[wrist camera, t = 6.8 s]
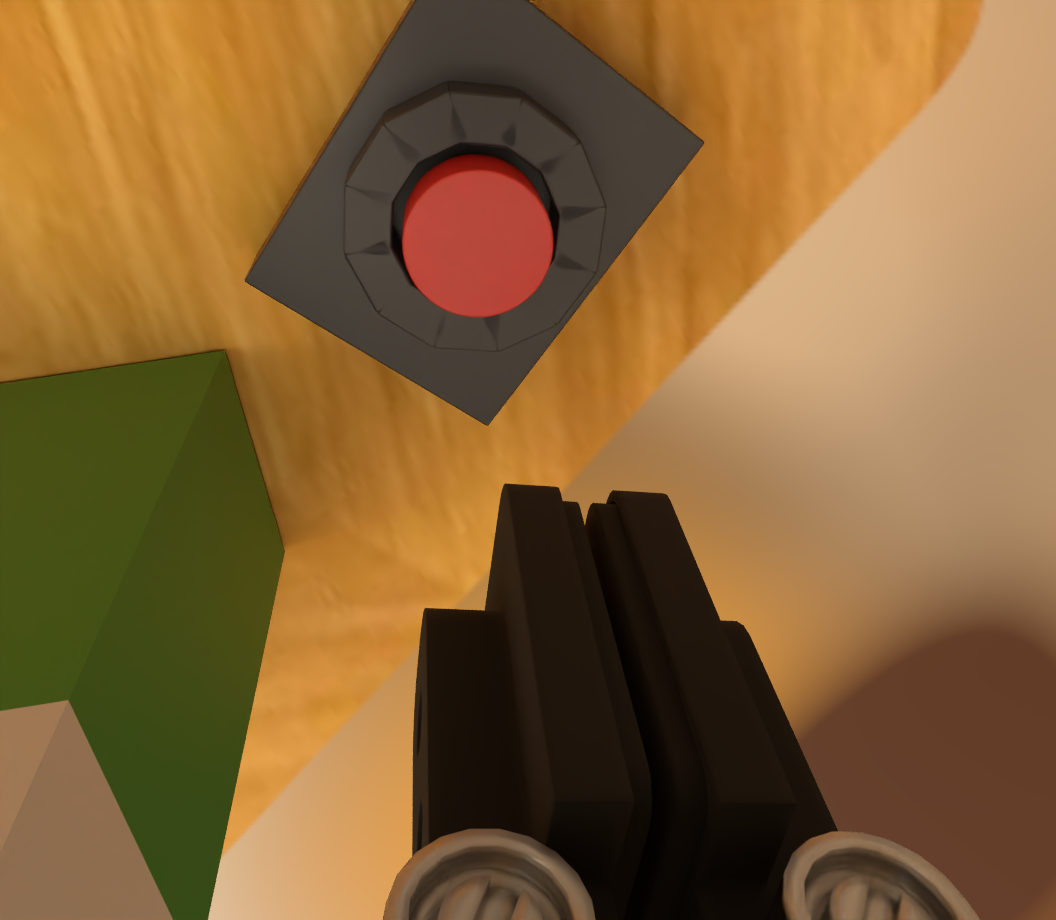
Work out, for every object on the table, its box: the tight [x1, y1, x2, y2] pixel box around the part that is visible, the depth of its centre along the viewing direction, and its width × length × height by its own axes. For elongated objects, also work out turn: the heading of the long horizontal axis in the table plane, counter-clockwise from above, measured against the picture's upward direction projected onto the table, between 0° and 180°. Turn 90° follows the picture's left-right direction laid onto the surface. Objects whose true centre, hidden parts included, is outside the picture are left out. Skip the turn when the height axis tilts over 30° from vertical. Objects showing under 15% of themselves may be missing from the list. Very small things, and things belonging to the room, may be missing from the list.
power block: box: [245, 0, 704, 426], centre depth 26 cm, size 10×8×4 cm
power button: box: [402, 154, 553, 317], centre depth 24 cm, size 4×4×2 cm
